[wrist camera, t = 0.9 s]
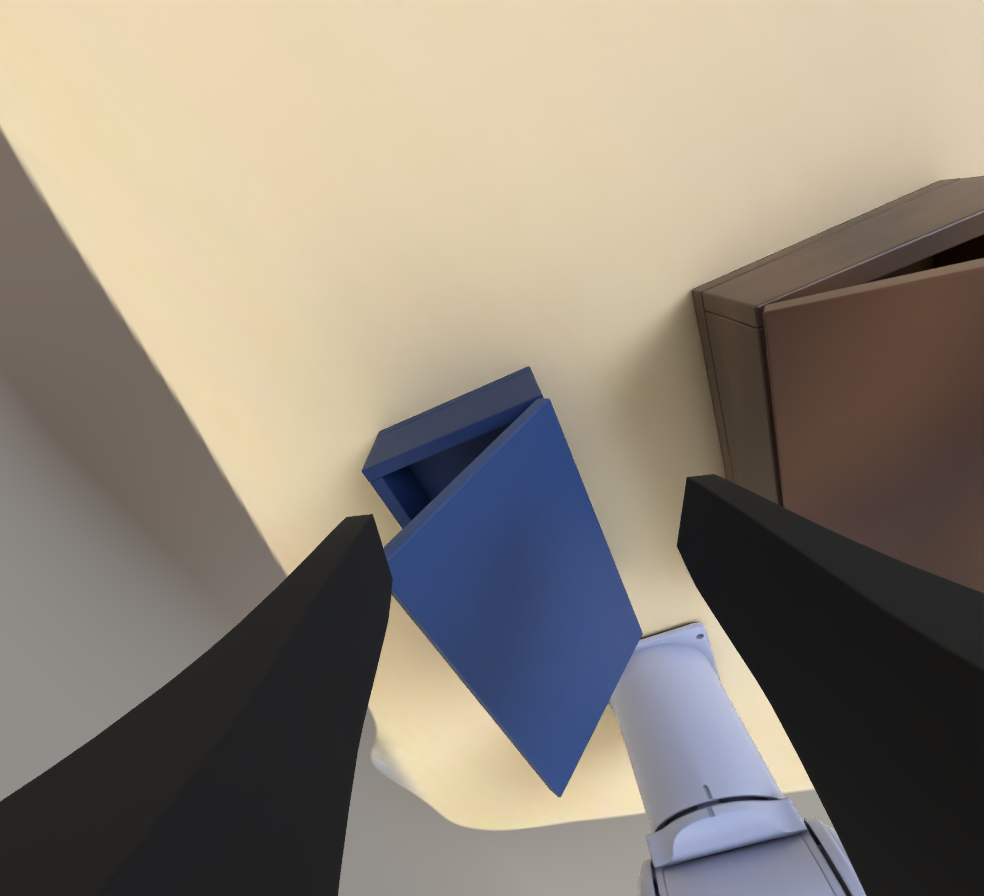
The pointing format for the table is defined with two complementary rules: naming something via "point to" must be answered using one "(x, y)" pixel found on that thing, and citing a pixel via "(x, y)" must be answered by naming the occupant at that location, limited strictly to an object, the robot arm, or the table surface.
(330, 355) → the table surface
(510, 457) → the blue case lid
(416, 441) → the blue case
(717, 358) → the pen box
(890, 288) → the pen box lid
